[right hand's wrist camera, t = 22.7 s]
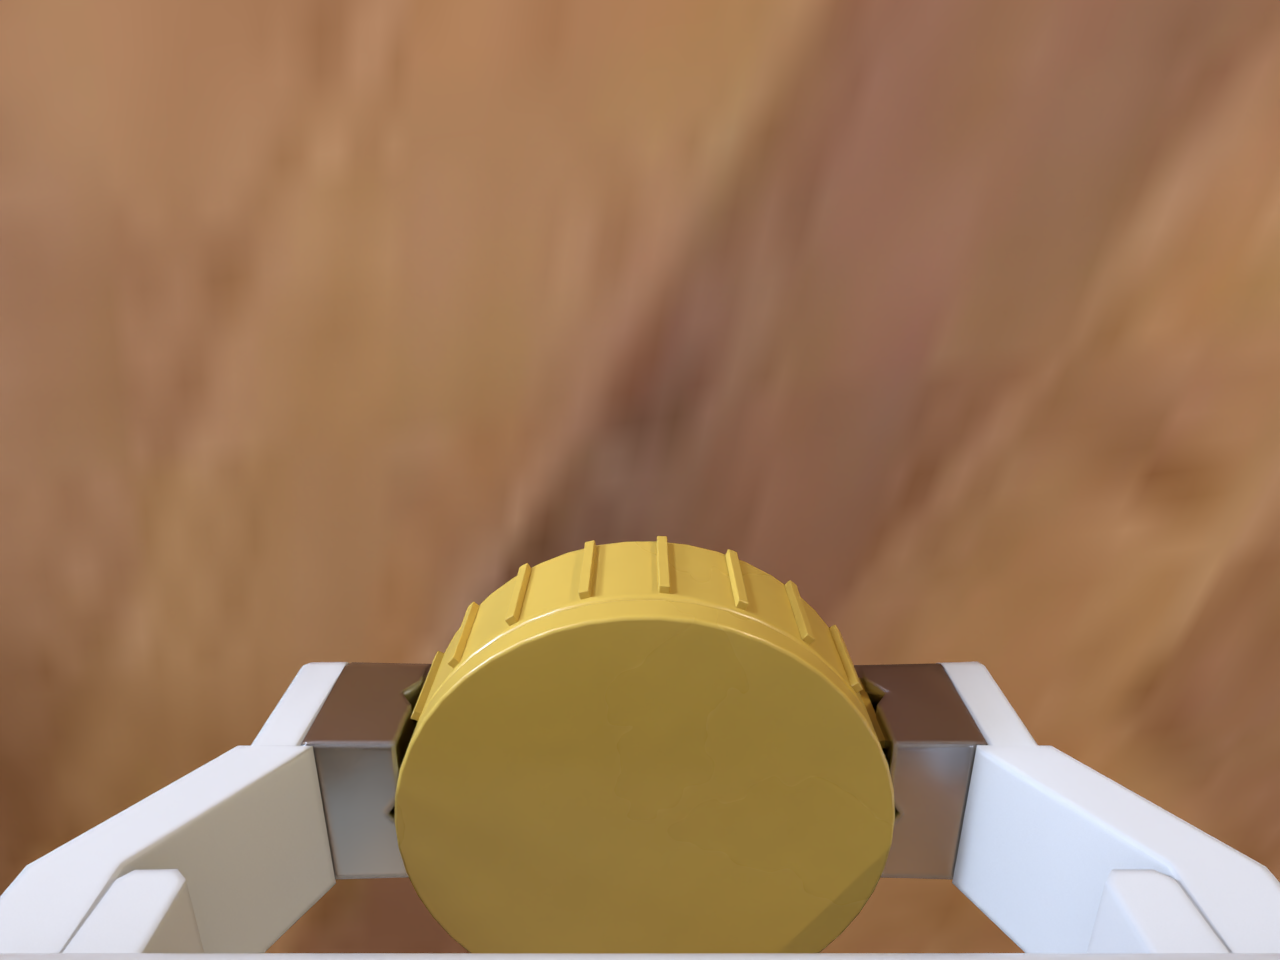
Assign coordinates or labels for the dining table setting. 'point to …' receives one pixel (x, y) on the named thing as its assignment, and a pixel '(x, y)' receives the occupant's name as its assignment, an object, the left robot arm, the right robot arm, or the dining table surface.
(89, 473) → the dining table surface
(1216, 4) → the dining table surface
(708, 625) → the lid
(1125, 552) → the dining table surface
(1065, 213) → the dining table surface
